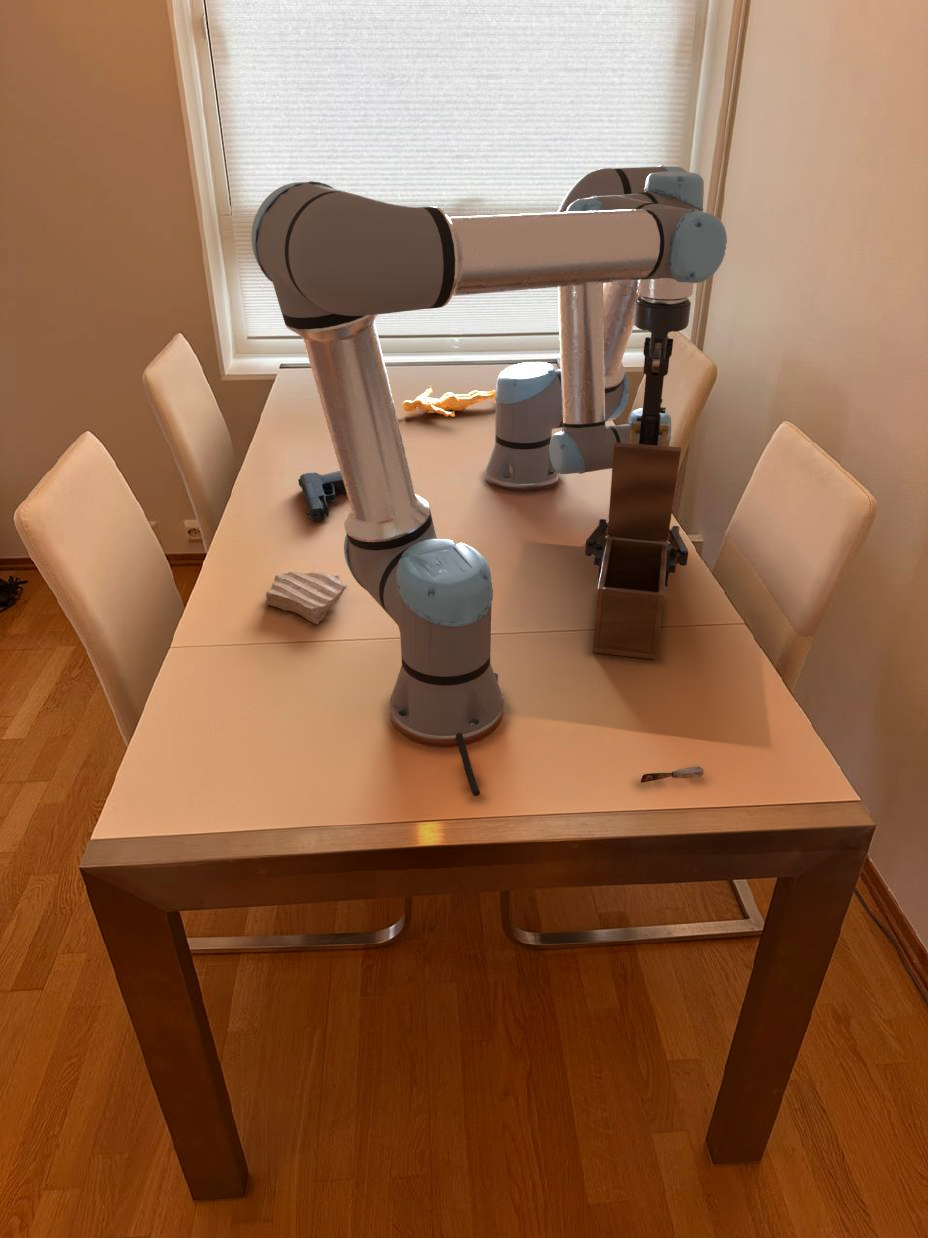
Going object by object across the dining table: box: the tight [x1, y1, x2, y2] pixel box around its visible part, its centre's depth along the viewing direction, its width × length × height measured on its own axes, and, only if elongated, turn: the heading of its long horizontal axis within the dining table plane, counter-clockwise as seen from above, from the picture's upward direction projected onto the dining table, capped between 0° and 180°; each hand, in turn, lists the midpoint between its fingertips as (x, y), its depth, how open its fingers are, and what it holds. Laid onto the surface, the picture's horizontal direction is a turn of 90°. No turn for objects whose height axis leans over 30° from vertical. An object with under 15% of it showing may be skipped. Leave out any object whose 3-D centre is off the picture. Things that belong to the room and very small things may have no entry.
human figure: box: [402, 385, 496, 418], centre depth 225 cm, size 20×20×4 cm
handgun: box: [298, 470, 347, 522], centre depth 178 cm, size 3×18×12 cm
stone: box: [265, 571, 347, 625], centre depth 145 cm, size 13×12×2 cm
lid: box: [607, 423, 682, 541], centre depth 136 cm, size 18×9×8 cm
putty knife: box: [640, 765, 705, 784], centre depth 109 cm, size 1×8×2 cm, turn 103°
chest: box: [591, 536, 667, 661], centre depth 136 cm, size 17×9×11 cm, turn 168°
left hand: (646, 458), depth 135 cm, fingers closed on lid, 2 cm apart
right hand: (633, 575), depth 140 cm, fingers closed on chest, 9 cm apart
